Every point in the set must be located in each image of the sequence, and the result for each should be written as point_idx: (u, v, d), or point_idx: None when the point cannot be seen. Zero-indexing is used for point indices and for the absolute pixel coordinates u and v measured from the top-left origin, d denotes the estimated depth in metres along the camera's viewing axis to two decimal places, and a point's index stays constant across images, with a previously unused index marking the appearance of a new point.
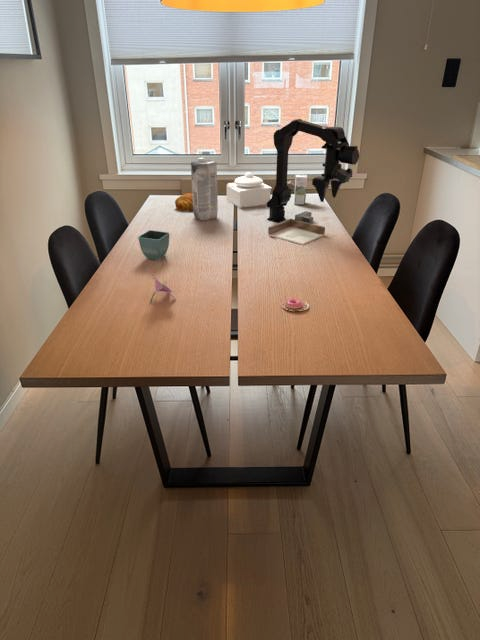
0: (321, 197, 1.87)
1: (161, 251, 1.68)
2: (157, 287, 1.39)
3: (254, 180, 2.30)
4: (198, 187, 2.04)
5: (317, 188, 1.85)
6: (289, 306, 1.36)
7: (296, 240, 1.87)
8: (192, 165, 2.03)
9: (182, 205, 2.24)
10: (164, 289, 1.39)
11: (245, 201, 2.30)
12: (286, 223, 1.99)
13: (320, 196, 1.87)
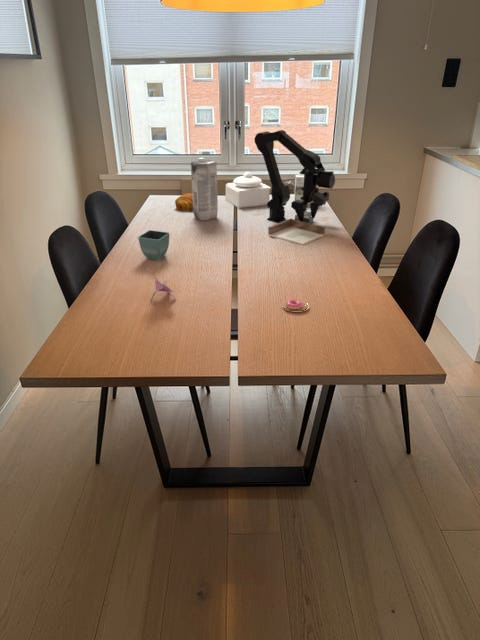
0: (300, 218, 2.00)
1: (161, 251, 1.68)
2: (157, 287, 1.39)
3: (253, 180, 2.30)
4: (198, 187, 2.04)
5: (296, 210, 1.98)
6: (289, 307, 1.36)
7: (296, 240, 1.87)
8: (192, 165, 2.03)
9: (182, 205, 2.24)
10: (164, 289, 1.39)
11: (244, 201, 2.30)
12: (286, 223, 1.99)
13: (299, 218, 2.00)
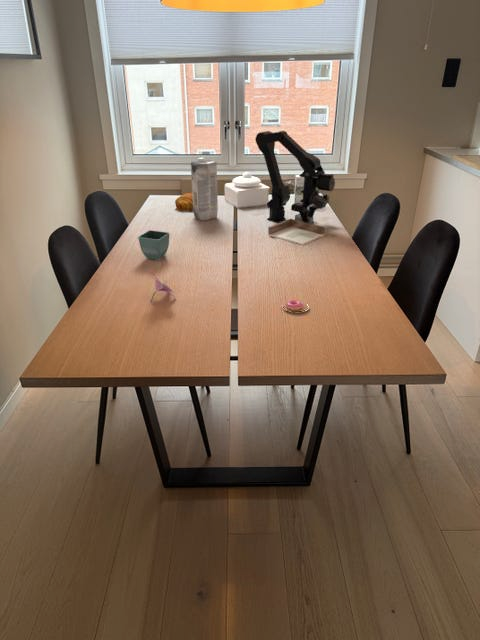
0: (304, 220, 2.03)
1: (161, 251, 1.68)
2: (157, 287, 1.39)
3: (252, 180, 2.30)
4: (198, 187, 2.04)
5: (300, 212, 2.01)
6: (289, 307, 1.35)
7: (296, 240, 1.87)
8: (192, 165, 2.03)
9: (182, 205, 2.24)
10: (164, 289, 1.39)
11: (243, 201, 2.30)
12: (286, 223, 1.99)
13: (303, 219, 2.02)
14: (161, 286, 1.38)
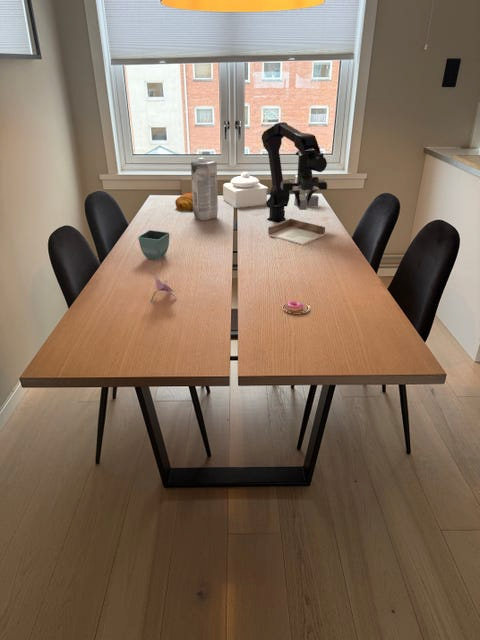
0: None
1: (161, 251, 1.68)
2: (158, 286, 1.39)
3: (250, 180, 2.30)
4: (198, 187, 2.04)
5: (294, 191, 1.92)
6: (290, 308, 1.35)
7: (296, 240, 1.87)
8: (192, 165, 2.03)
9: (182, 205, 2.24)
10: (165, 288, 1.39)
11: (241, 201, 2.30)
12: (286, 223, 1.99)
13: None
14: (162, 286, 1.38)
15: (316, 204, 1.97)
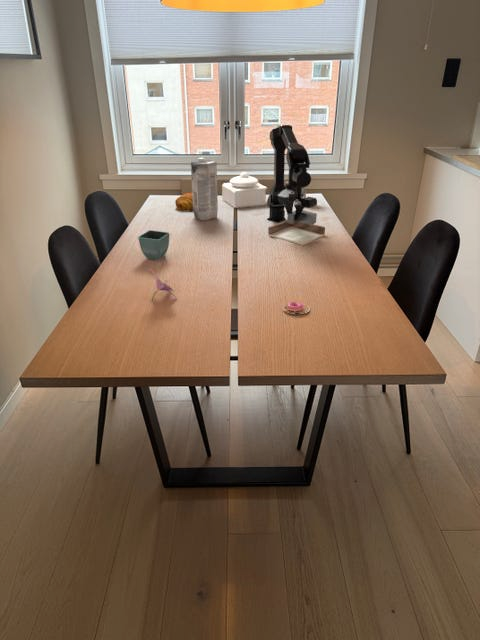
0: None
1: (161, 251, 1.68)
2: (158, 286, 1.39)
3: (249, 180, 2.30)
4: (198, 187, 2.04)
5: None
6: (290, 309, 1.34)
7: (296, 240, 1.87)
8: (192, 165, 2.03)
9: (182, 205, 2.25)
10: (165, 288, 1.39)
11: (240, 201, 2.30)
12: (286, 223, 1.99)
13: None
14: (162, 285, 1.38)
15: (310, 222, 1.87)
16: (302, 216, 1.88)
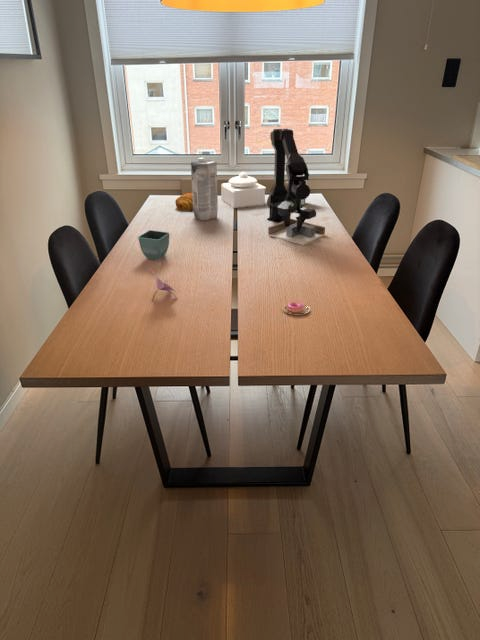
0: None
1: (161, 251, 1.68)
2: (159, 286, 1.39)
3: (248, 180, 2.30)
4: (198, 187, 2.04)
5: None
6: (290, 309, 1.34)
7: (296, 240, 1.87)
8: (192, 165, 2.03)
9: (182, 205, 2.25)
10: (166, 288, 1.40)
11: (239, 201, 2.30)
12: None
13: None
14: (162, 285, 1.38)
15: (309, 235, 1.89)
16: (301, 229, 1.91)
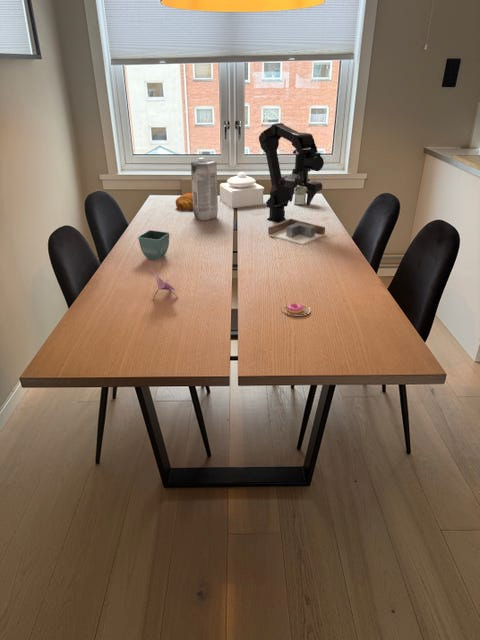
0: None
1: (161, 251, 1.68)
2: (159, 285, 1.40)
3: (246, 180, 2.30)
4: (198, 187, 2.04)
5: None
6: (290, 310, 1.34)
7: (296, 240, 1.87)
8: (192, 165, 2.03)
9: (182, 205, 2.25)
10: (166, 287, 1.40)
11: (237, 201, 2.30)
12: (286, 223, 1.99)
13: None
14: (163, 285, 1.39)
15: (309, 235, 1.89)
16: (301, 229, 1.91)
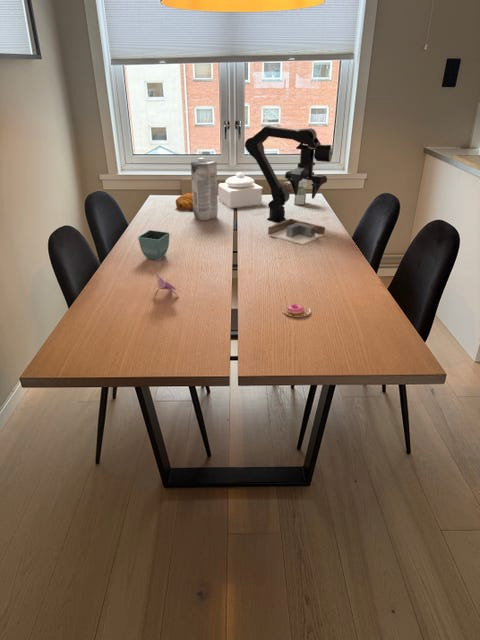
0: None
1: (161, 251, 1.68)
2: (160, 285, 1.40)
3: (245, 180, 2.30)
4: (198, 187, 2.04)
5: None
6: (290, 311, 1.33)
7: (296, 240, 1.87)
8: (192, 165, 2.03)
9: (182, 205, 2.25)
10: (167, 287, 1.40)
11: (236, 201, 2.30)
12: (286, 223, 1.99)
13: None
14: (164, 284, 1.39)
15: (309, 235, 1.89)
16: (301, 229, 1.91)
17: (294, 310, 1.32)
